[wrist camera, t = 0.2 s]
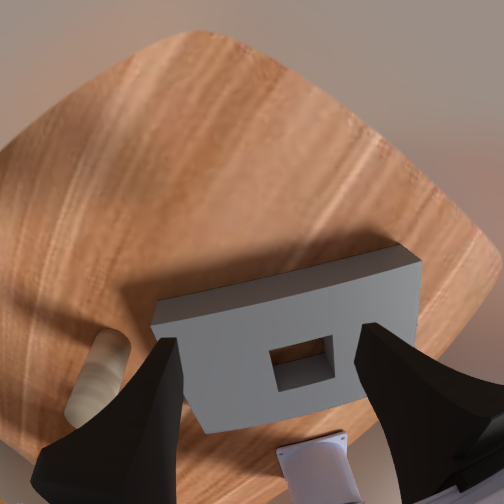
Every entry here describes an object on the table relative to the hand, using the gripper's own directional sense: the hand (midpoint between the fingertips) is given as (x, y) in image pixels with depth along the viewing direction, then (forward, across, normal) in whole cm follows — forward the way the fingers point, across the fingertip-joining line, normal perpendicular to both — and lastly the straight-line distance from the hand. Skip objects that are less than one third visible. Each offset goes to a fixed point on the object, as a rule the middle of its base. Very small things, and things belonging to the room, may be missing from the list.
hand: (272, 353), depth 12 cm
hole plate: (+10, -4, +8) cm, 13 cm away
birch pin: (+10, +11, +7) cm, 16 cm away
